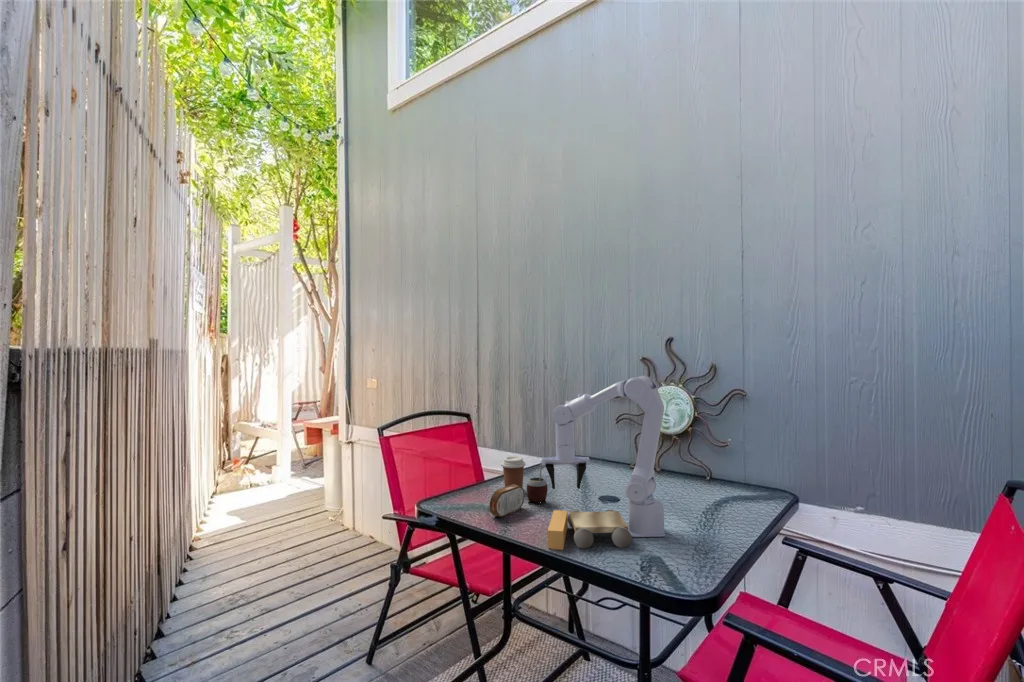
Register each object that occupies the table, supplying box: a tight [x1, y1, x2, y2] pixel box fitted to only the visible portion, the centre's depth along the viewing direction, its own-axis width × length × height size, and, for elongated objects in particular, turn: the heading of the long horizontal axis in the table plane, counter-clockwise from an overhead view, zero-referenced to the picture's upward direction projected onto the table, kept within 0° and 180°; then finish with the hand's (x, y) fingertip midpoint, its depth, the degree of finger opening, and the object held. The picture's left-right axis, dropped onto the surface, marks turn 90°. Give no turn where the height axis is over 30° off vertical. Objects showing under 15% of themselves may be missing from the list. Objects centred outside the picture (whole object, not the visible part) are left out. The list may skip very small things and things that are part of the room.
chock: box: [547, 509, 569, 550], centre depth 136 cm, size 4×16×5 cm, turn 169°
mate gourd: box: [526, 455, 548, 506], centre depth 166 cm, size 8×8×15 cm
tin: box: [489, 484, 525, 518], centre depth 156 cm, size 15×3×8 cm, turn 141°
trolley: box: [568, 509, 633, 550], centre depth 135 cm, size 15×15×5 cm
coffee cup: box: [500, 455, 527, 489], centre depth 180 cm, size 9×9×12 cm
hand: (565, 488), depth 150 cm, fingers open, 7 cm apart
